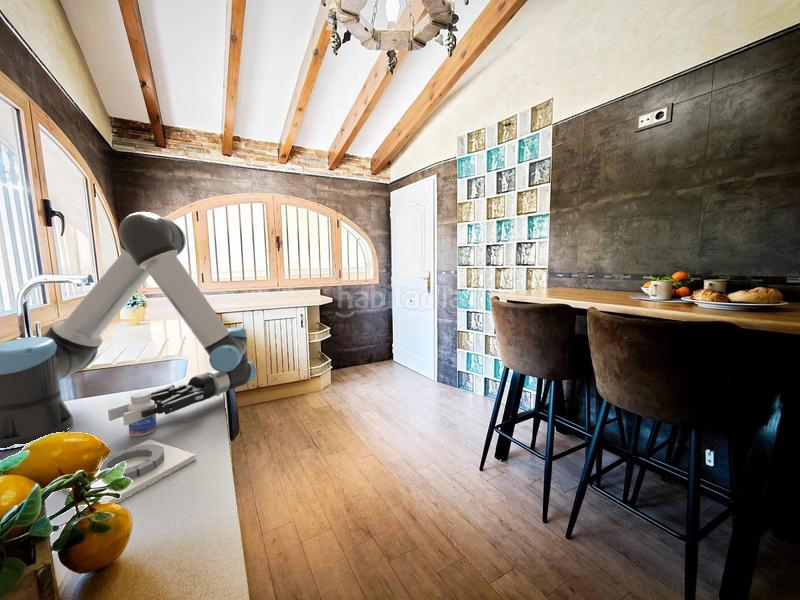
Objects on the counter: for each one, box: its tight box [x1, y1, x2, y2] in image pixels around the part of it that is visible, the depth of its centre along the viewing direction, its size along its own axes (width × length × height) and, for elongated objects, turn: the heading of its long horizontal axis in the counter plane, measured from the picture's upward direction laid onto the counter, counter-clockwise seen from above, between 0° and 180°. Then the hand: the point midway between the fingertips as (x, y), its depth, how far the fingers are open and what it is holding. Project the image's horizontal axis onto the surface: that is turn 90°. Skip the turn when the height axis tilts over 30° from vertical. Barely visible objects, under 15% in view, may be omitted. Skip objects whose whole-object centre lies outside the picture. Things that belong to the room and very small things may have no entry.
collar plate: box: [65, 439, 197, 504], centre depth 66 cm, size 16×16×3 cm
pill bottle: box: [128, 391, 157, 437], centre depth 82 cm, size 6×5×10 cm
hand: (116, 417), depth 77 cm, fingers closed on pill bottle, 5 cm apart
